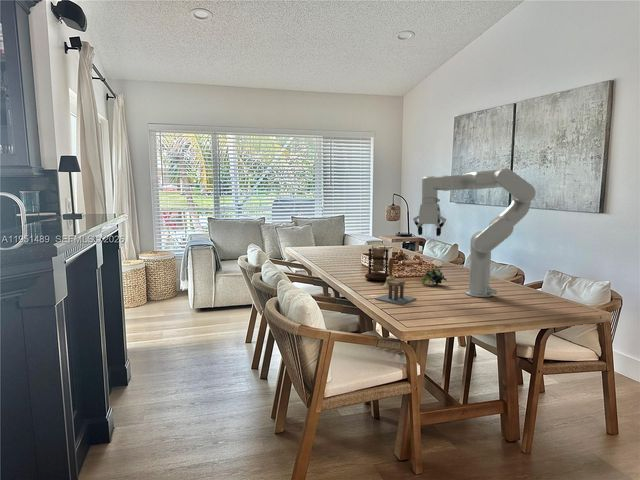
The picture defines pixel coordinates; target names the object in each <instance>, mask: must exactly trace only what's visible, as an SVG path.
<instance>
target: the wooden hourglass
mask: <svg viewBox="0 0 640 480" xmlns="http://www.w3.org/2000/svg"><path fill="white" fill-rule="evenodd" d="M389 252H390V251H389V248H386V245H384V247H383V248H379V247H374V245H372V248H369V249H368V265H367V267H368V271H367V272H368V273H365V275H364V278H365V279H368V281H369V282H371V280H374V281H385V282H386V278H387V277H389V271H388V269H389V266H388V263H389Z"/></svg>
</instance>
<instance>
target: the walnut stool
mask: <svg viewBox="0 0 640 480" xmlns="http://www.w3.org/2000/svg"><path fill="white" fill-rule="evenodd" d="M388 285H389V289H388V294H389V299H392V293H393V292H394V293H393V294H394V300H398V295H400V298H403V295H404V291H405V290H404V289H405V285H406V281H405V280H402V279H401V280H400V279H395V280H393V281H389V282H388ZM392 286H395V287H394V289H393V290H392ZM404 296H405V295H404Z"/></svg>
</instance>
